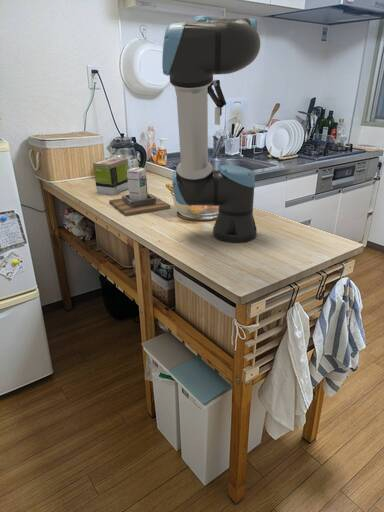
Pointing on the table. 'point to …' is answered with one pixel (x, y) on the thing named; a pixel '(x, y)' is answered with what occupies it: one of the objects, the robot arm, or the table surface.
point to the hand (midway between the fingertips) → (202, 125)
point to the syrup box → (137, 184)
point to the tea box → (111, 175)
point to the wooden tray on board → (138, 205)
